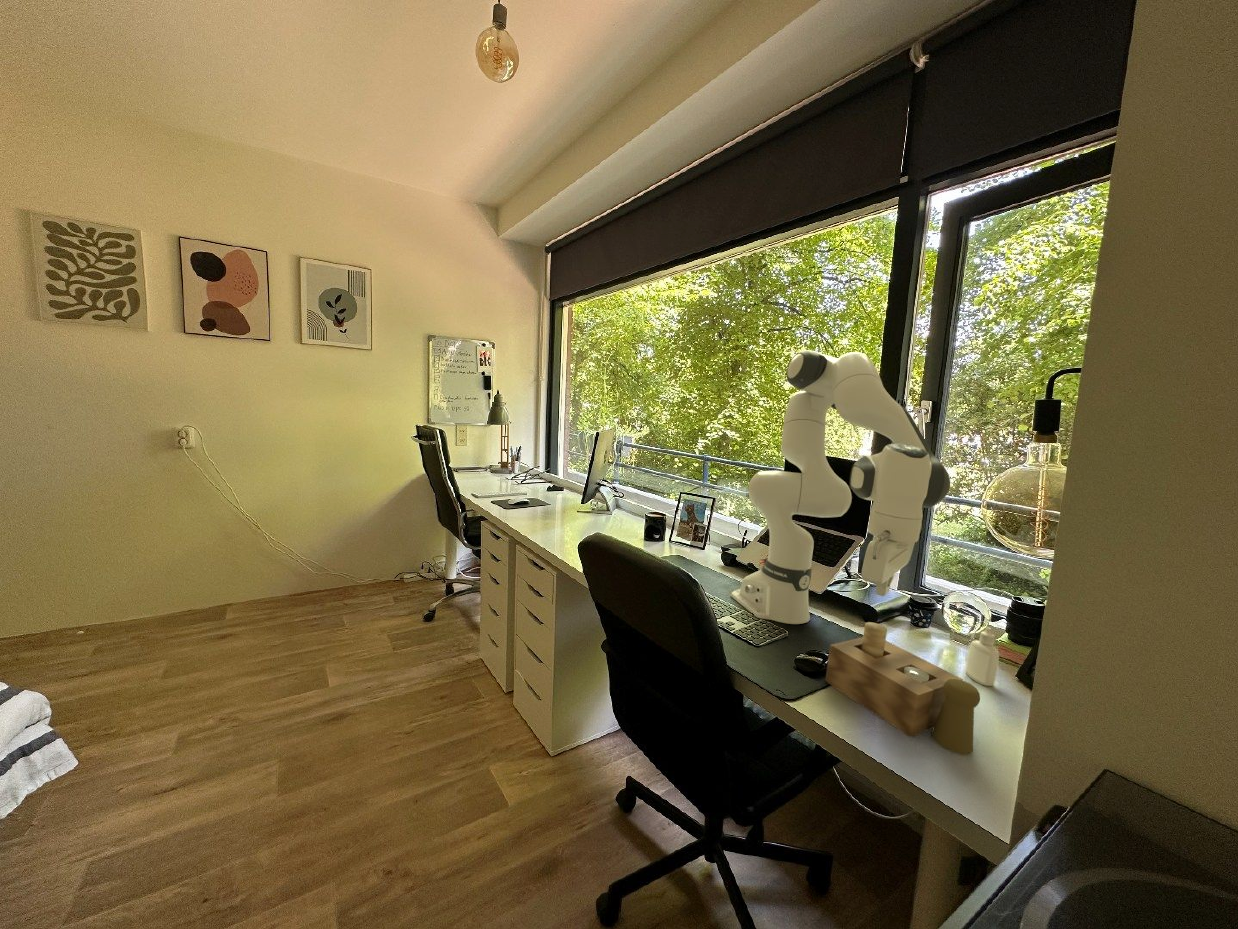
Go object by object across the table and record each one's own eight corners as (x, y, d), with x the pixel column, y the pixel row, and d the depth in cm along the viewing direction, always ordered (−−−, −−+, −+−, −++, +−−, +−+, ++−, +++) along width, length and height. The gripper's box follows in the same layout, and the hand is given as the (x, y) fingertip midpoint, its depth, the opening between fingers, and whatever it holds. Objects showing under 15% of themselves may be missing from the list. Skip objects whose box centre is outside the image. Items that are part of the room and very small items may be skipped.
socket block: (825, 681, 100) (830, 644, 99) (868, 668, 106) (873, 634, 105) (911, 737, 84) (918, 695, 83) (955, 718, 91) (962, 679, 90)
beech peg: (855, 659, 99) (860, 623, 98) (867, 656, 101) (873, 621, 100) (873, 669, 96) (879, 633, 95) (885, 666, 98) (891, 629, 97)
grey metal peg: (893, 706, 92) (899, 669, 91) (905, 702, 94) (912, 665, 93) (914, 719, 88) (921, 680, 87) (926, 714, 90) (933, 676, 89)
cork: (974, 743, 84) (986, 685, 83) (970, 760, 79) (983, 699, 78) (934, 725, 88) (944, 669, 86) (928, 741, 83) (939, 682, 82)
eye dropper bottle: (970, 682, 104) (980, 630, 102) (963, 670, 109) (973, 620, 108) (995, 689, 102) (1005, 636, 101) (987, 676, 107) (997, 625, 106)
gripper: (896, 541, 85) (883, 614, 87) (924, 523, 99) (912, 586, 101) (858, 531, 89) (847, 601, 91) (890, 516, 104) (880, 576, 106)
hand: (881, 593), depth 96 cm, fingers closed
